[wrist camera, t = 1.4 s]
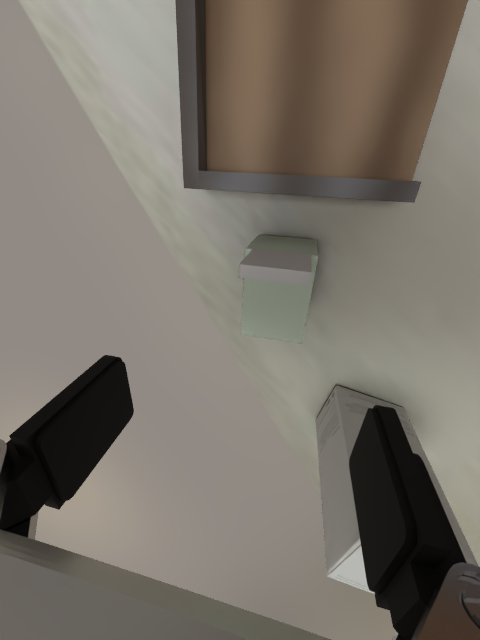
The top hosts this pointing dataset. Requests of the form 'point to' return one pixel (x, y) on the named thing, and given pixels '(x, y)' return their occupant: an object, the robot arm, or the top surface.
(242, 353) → the top surface
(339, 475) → the skincare box
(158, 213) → the top surface
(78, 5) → the top surface
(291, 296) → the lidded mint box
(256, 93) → the brown wooden tray
